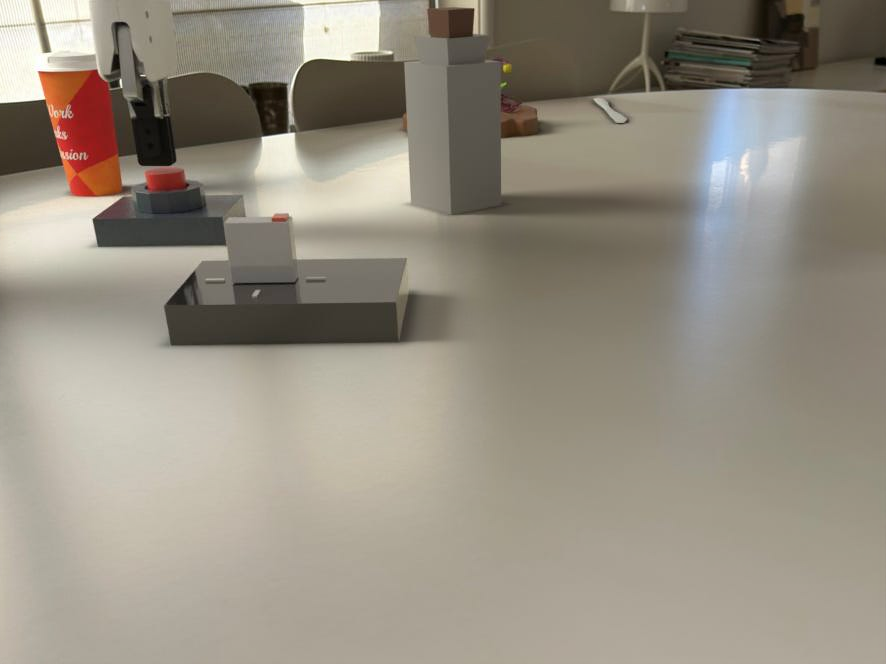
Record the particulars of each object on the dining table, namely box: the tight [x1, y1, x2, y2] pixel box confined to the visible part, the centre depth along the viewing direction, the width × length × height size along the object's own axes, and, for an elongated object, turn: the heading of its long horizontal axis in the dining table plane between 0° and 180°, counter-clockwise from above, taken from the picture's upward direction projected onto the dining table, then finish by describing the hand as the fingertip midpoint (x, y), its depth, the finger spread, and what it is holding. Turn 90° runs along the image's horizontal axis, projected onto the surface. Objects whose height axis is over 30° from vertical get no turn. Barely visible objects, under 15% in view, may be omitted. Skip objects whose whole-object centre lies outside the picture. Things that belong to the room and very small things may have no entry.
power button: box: [144, 166, 187, 191], centre depth 100 cm, size 4×4×2 cm
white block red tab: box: [224, 212, 298, 283], centre depth 76 cm, size 5×2×4 cm, turn 90°
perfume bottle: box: [403, 6, 502, 216], centre depth 107 cm, size 7×7×18 cm
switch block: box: [91, 179, 247, 248], centre depth 101 cm, size 12×10×4 cm
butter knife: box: [593, 97, 628, 124], centre depth 168 cm, size 1×27×3 cm
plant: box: [402, 56, 539, 139], centre depth 153 cm, size 20×20×11 cm
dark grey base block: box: [163, 257, 410, 346], centre depth 78 cm, size 16×12×3 cm
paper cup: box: [33, 50, 123, 198], centre depth 116 cm, size 8×8×14 cm
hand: (157, 164), depth 99 cm, fingers closed
